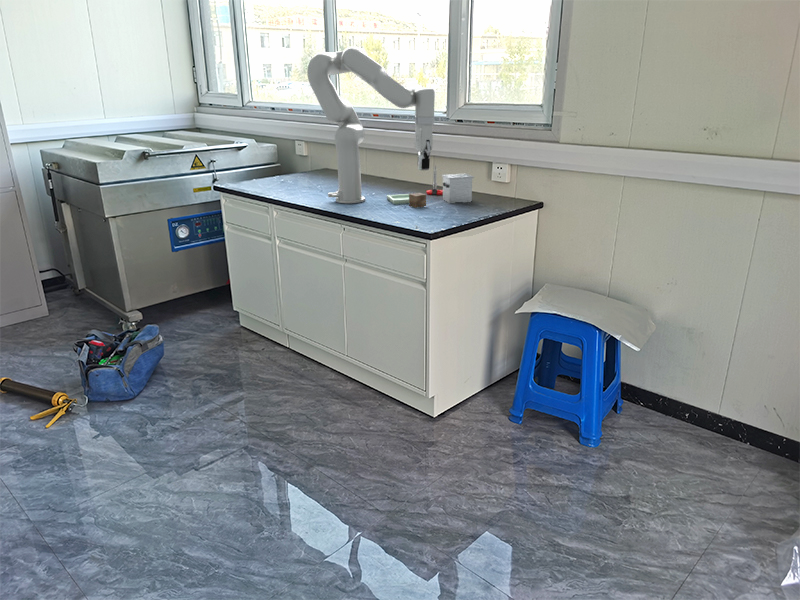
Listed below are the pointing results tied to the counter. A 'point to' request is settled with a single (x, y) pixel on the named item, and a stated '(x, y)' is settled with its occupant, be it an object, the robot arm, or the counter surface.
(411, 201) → the walnut block
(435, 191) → the red base rod stand
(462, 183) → the control box
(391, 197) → the tray
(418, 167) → the spacer
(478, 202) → the counter surface
